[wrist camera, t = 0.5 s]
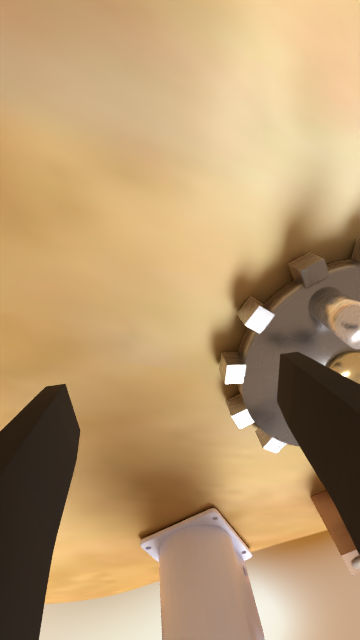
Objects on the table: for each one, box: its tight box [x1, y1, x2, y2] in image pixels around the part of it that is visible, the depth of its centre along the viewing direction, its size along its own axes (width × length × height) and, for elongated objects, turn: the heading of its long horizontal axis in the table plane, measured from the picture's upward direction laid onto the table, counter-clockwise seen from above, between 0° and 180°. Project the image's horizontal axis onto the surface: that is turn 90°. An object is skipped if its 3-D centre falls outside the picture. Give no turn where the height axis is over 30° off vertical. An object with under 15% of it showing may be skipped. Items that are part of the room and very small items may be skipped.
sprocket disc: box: [219, 240, 360, 454], centre depth 19 cm, size 16×16×5 cm
